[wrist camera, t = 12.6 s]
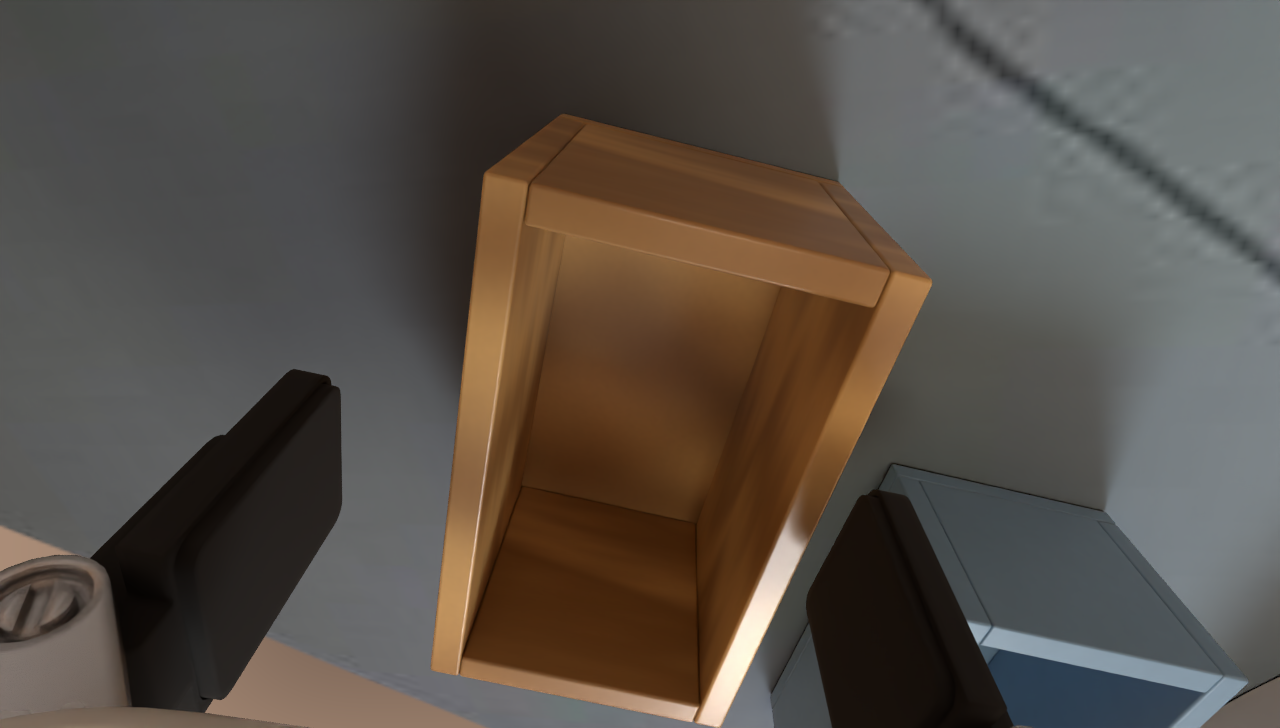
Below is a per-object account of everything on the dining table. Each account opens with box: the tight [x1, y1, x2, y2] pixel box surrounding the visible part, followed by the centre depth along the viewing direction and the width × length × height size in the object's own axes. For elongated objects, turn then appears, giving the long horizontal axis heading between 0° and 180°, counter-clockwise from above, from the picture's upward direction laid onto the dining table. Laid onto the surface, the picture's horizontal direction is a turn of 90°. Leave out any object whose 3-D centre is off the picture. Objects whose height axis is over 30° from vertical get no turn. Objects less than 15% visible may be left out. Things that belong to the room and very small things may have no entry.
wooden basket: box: [431, 114, 932, 728], centre depth 16 cm, size 12×7×7 cm, turn 167°
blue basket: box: [771, 464, 1249, 728], centre depth 21 cm, size 12×7×6 cm, turn 167°
